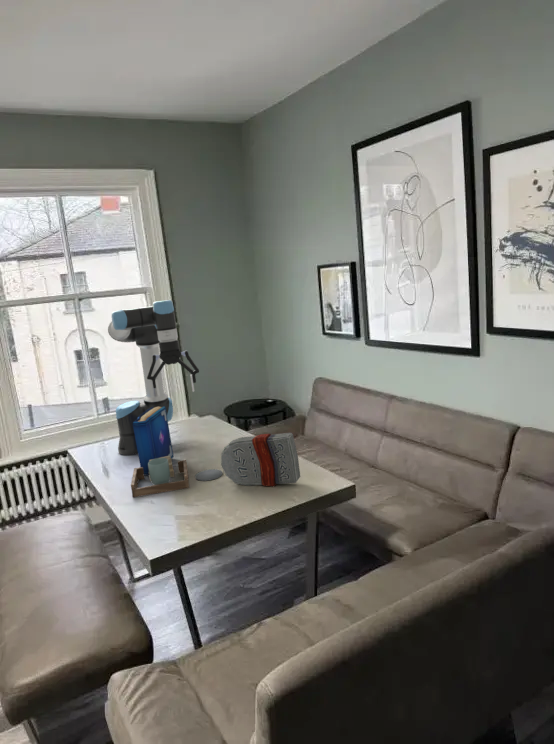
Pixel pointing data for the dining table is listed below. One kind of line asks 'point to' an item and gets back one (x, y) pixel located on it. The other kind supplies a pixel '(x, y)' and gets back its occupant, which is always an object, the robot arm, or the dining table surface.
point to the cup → (159, 471)
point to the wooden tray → (139, 475)
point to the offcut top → (167, 458)
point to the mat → (208, 475)
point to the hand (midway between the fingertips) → (176, 393)
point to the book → (152, 436)
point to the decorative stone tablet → (261, 460)
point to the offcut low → (170, 474)
